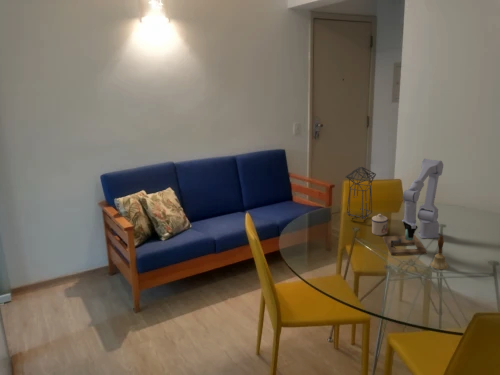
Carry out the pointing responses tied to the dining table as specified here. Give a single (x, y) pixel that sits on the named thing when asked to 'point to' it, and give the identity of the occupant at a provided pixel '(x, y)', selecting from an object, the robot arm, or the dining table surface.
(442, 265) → the hand bell
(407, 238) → the bobbin
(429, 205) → the robot arm
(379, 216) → the teacup with lid
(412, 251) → the wooden picture frame
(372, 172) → the geometric lantern
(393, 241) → the hook arm
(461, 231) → the dining table surface
